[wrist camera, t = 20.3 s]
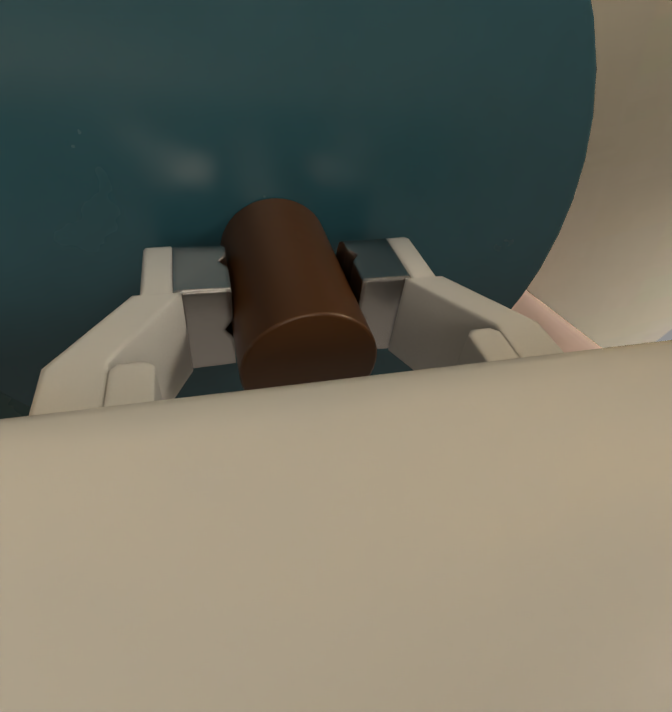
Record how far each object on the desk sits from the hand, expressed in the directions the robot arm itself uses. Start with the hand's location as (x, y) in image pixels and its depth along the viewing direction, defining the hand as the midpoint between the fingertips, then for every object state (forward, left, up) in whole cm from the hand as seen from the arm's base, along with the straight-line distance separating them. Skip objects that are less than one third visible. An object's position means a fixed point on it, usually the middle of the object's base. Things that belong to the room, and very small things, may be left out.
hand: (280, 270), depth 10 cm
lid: (0, 0, -2) cm, 2 cm away
